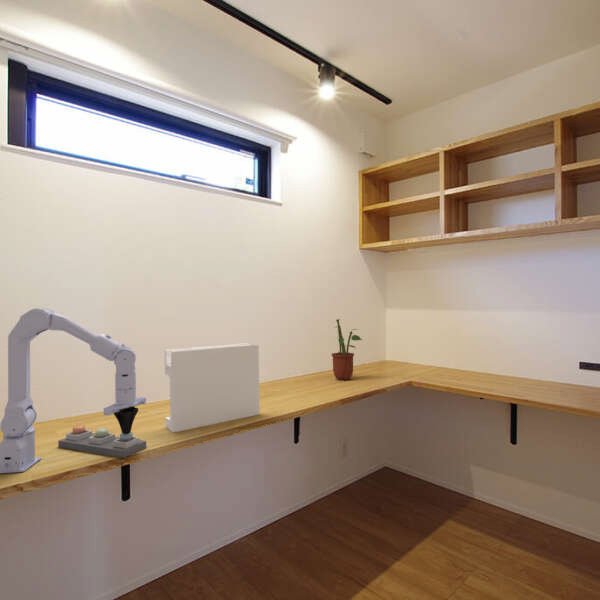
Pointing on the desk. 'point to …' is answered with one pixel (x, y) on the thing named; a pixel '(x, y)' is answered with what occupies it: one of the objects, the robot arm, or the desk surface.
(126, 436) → the slate button
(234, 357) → the block
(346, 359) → the potted plant
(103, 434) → the sage button
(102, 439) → the button panel
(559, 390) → the desk surface
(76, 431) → the terracotta button
